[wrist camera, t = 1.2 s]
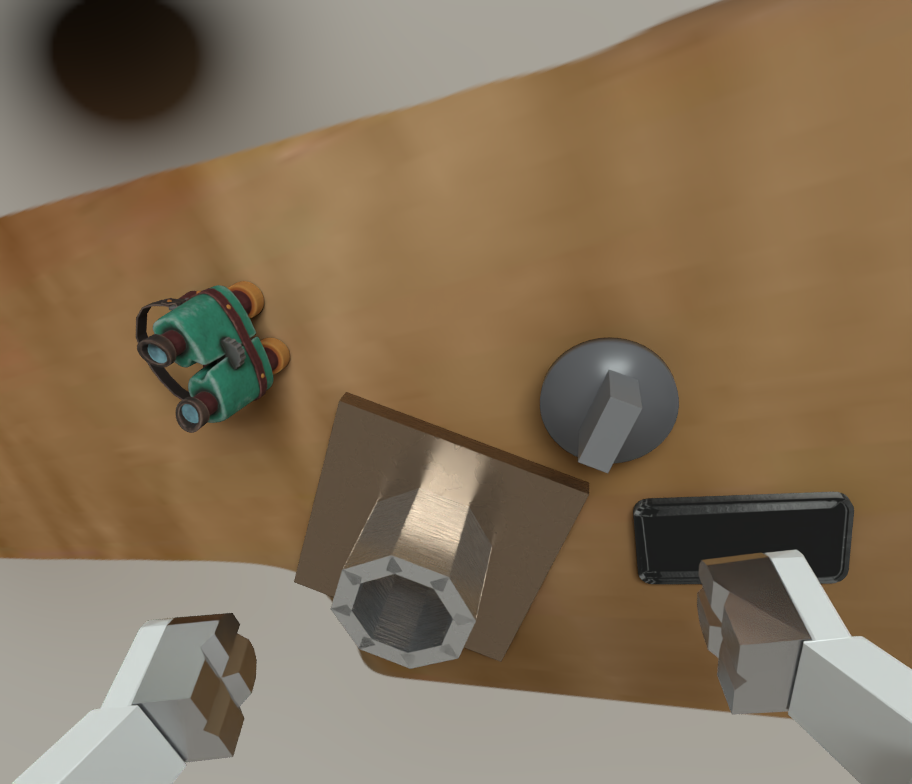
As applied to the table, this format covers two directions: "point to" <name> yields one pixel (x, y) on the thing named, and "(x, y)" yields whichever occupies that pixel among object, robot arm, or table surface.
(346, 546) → the square base plate
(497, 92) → the table surface
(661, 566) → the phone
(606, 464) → the grey dial knob
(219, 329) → the binoculars
